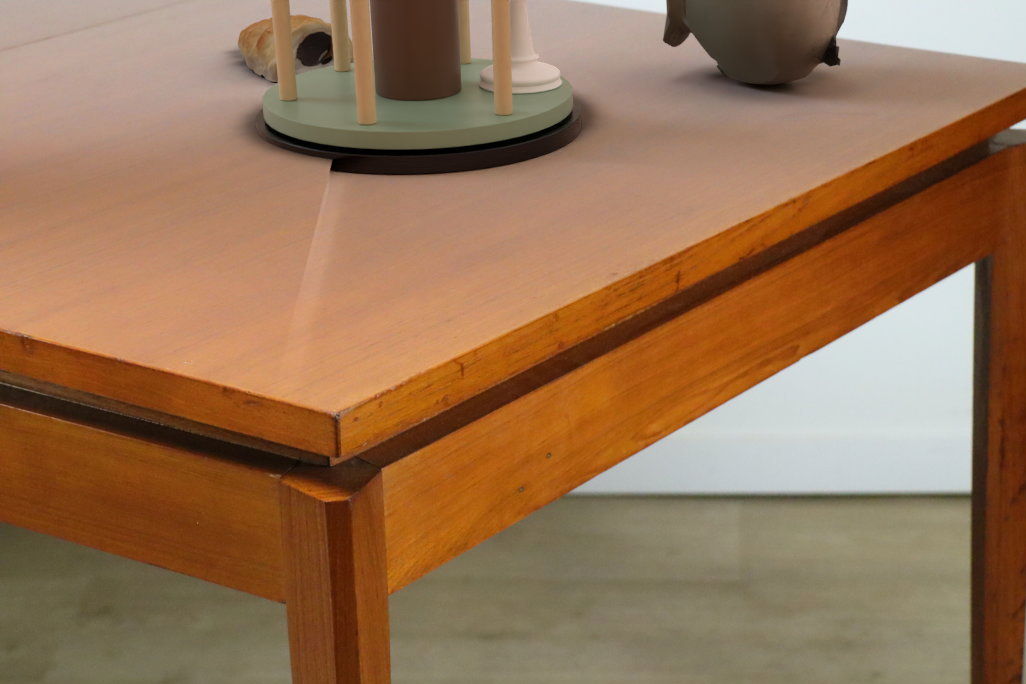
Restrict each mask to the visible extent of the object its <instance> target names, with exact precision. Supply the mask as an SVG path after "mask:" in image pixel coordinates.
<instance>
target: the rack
mask: <svg viewBox="0 0 1026 684" xmlns="http://www.w3.org/2000/svg"><path fill="white" fill-rule="evenodd" d="M347 5H348V4H347V0H329V14H330V24H331V28H332V41H333V54H334V66H330V67H325V68H321V69H316V70H312V71H308V72H305V73H301V74H298V75H295V64H294V52H293V40H292V29H291V17H290V15H291V6H290V0H270V6H271V8H270V9H271V18H272V19H273V30H274V41H275V52H276V63H277V74H278V82H276V83H275V84H273V85H271V86H270V87H269V88H268V89H266V90H265V92H264V94H263V95H262V96H261V97H262V99H261V100H262V101H261V105H262V109H263V115H264V119H265V121H266V123H267V124H268V125H269V126H270V127H272V128H273V129H275V130H277V131H278V132H280V133H283V134H285V135H288V136H290V137H294V138H297V139H301V140H305V141H309V142H314V143H319V144H326V145H332V146H340V147H350V148H363V149H388V150H410V149H436V148H450V147H461V146H470V145H477V144H485V143H491V142H496V141H502V140H507V139H511V138H516V137H520V136H524V135H527V134H531V133H534V132H538V131H540V130H543V129H546V128H548V127H551V126H553V125H555V124H557V123H559V122H560V121H562V120H563V119H564V118H566V117H567V116H568V115H569V114H570V113H571V111H572V108H573V98H574V89H573V85H572V84H571V83H570V81H569V80H568V79H566V78H565V77H564V76H562V75H560V79H561V81H562V84H561V86H559V87H558V88H556V89H553V90H549V91H545V92H539V93H529V94H512V69H511V31H510V0H490V13H491V14H490V15H491V46H492V48H491V49H492V59H491V58H479V57H478V58H477V57H472V52H471V51H472V49H471V25H470V23H471V22H470V0H349V11H350V12H349V14H350V29H351V41H352V44H353V62H352V61H351V62H350V48H349V38H350V35H349V33H350V32H349V20H348V9H347V7H348V6H347ZM490 65H493V81H494V92H492V91H488V90H485V89H483V88H481V87H480V86H479V81H480V80H481V78H480V72H481V71H482V70H483V69H484V68H486V67H488V66H490Z"/></svg>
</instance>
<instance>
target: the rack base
mask: <svg viewBox="0 0 1026 684" xmlns="http://www.w3.org/2000/svg"><path fill="white" fill-rule="evenodd" d="M582 116H583V115H582V106H581V104H580V103H579V101H578V100H577V99H576V98H575V97H573V108H572V111H571V113H570V114H569V115H568V116H567V117H566V118H564V119H563V120H562V121H560V122H559V123H557V124H555V125H553V126H551V127H548V128H546V129H543V130H540V131H538V132H534V133H531V134H527V135H524V136H520V137H516V138H511V139H507V140H502V141H496V142H491V143H485V144H477V145H470V146H461V147H450V148H436V149H410V150H388V149H363V148H350V147H340V146H332V145H326V144H319V143H314V142H309V141H305V140H301V139H297V138H294V137H290V136H288V135H285V134H283V133H280V132H278V131H277V130H275V129H273V128H272V127H270V126H269V125H268V124H267V123H266V121H265V119H264V115H263V108H261V109H260V110H259V111H258V112H257V114H256V116H255V121H254V122H255V123H254V124H255V130H256V132H257V134H258V135H259V136H260V137H261V138H262V140H264V141H265V142H267V143H269V144H270V145H273V146H275V147H277V148H280V149H282V150H286V151H289V152H291V153H295V154H299V155H304V156H308V157H314V158H320V159H327V160H331V163H330V168H329V171H338V172H345V173H346V172H347V173H358V174H371V175H376V174H377V175H378V174H379V175H423V174H426V175H427V174H443V173H454V172H464V171H465V172H466V171H473V170H481V169H482V170H483V169H488V168H493V167H499V166H500V167H501V166H505V165H511V164H514V163H518V162H523V161H526V160H531V159H534V158H537V157H540V156H544V155H545V154H549V153H551V152H554V151H557V150H559V149H560V148H562V147H564V146H566V145H568V144H570V143H571V142H572V141H574V140H575V139H576V138H577V137H578V135H579V134H580V132H581V129H582V128H583V127H582V126H583V125H582V124H583V123H582V119H583V118H582Z"/></svg>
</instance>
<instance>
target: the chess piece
mask: <svg viewBox="0 0 1026 684" xmlns="http://www.w3.org/2000/svg"><path fill="white" fill-rule="evenodd" d="M510 31H511V69H512V94H529V93H539V92H545V91H549V90H553V89H556V88H558V87H559V86H561V84H562V81H561V79H560V76H562V75H561V74H562V73H561V71H560V69H559V68H558V67H556V66H554V65H552V64H549V63H547V62H543V61H538V59H539V58H540V54H538V53H536V52H535V49H534V43H533V37H532V36H533V35H532V30H531V24H530V16H529V7H528V0H510ZM480 78H481V80H480V81H479V86H480V87H481V88H483V89H485V90H488V91H492V92H494V81H493V65H490V66H488V67H486V68H484V69H483V70H482V71H481V72H480Z"/></svg>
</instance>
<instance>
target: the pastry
mask: <svg viewBox="0 0 1026 684" xmlns="http://www.w3.org/2000/svg"><path fill="white" fill-rule="evenodd" d="M290 17H291V29H292V40H293V52H294V64H295V75H298V74H301V73H305V72H308V71H312V70H316V69H321V68H325V67H330V66H334V54H333V41H332V28H331V23H329V22H326V21H324V20H323V19H321V18H320V17H311V16H308V15H306V14H293V15H291V14H290ZM237 47H238V49H239V53H240V54H241V56H242V57H243V58H244V60H245V63H246V67H247V68H248V69H249V70H251V71H253V72H254V73H255V74H256V75H258V76H260V77H261V76H263V77H264V78H265V80H266V81H269V82H276V83H278V74H277V63H276V52H275V41H274V30H273V19H272V17H269V18H265V19H261V20H259V21H257V22H253V23H251V24H250V25H248V26H246V27H245V28H244V29H242V30H241V31H240V33H239V35H238V39H237ZM349 48H350V62H351V63H352V62H353V61H354V59H353V44H352V38H350V37H349Z"/></svg>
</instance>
